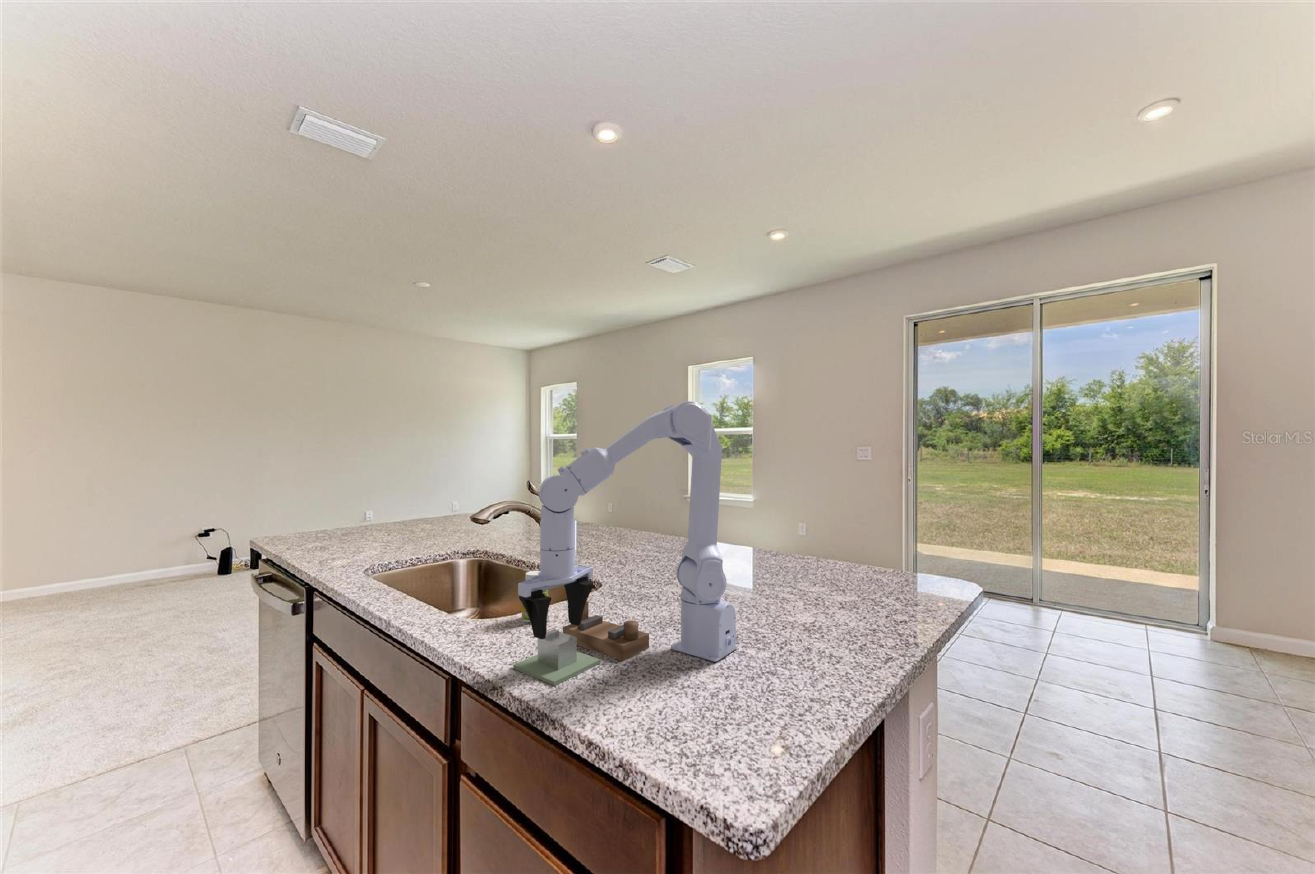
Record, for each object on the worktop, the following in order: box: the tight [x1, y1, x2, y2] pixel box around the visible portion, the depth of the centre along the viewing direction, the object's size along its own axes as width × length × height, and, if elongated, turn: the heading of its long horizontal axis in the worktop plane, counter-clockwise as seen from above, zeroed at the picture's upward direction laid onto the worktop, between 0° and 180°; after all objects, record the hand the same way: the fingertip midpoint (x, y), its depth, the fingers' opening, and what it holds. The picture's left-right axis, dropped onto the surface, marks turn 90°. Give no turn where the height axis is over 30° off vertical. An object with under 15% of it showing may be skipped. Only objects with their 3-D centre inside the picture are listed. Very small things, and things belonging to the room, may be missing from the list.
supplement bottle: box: [521, 570, 549, 623], centre depth 105 cm, size 5×5×10 cm
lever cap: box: [537, 628, 578, 670], centre depth 83 cm, size 5×4×5 cm
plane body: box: [562, 601, 650, 662], centre depth 92 cm, size 15×7×6 cm, turn 53°
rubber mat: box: [512, 651, 601, 687], centre depth 83 cm, size 10×10×1 cm
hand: (557, 630), depth 83 cm, fingers open, 7 cm apart
